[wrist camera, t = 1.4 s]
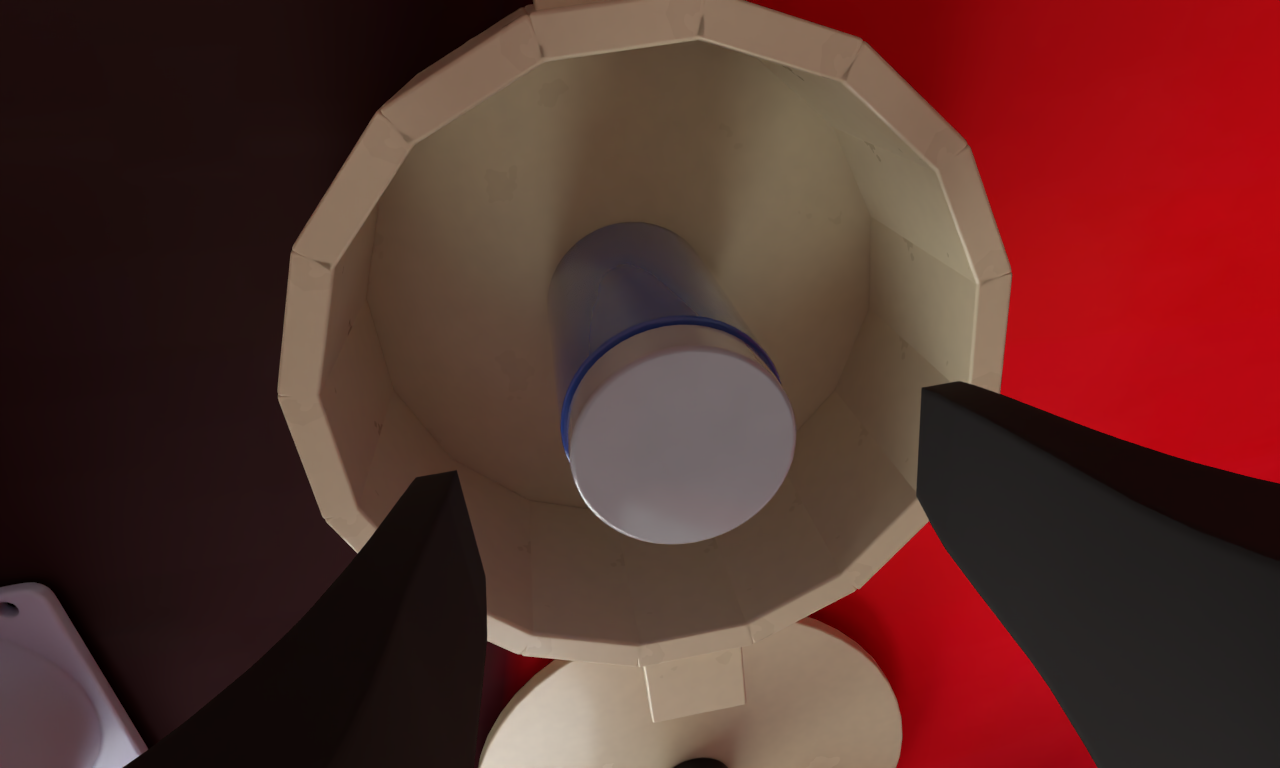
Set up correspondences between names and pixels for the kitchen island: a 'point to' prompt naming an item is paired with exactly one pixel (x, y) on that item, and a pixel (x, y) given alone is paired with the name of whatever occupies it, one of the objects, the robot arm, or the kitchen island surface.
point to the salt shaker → (662, 389)
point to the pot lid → (710, 714)
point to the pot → (733, 252)
